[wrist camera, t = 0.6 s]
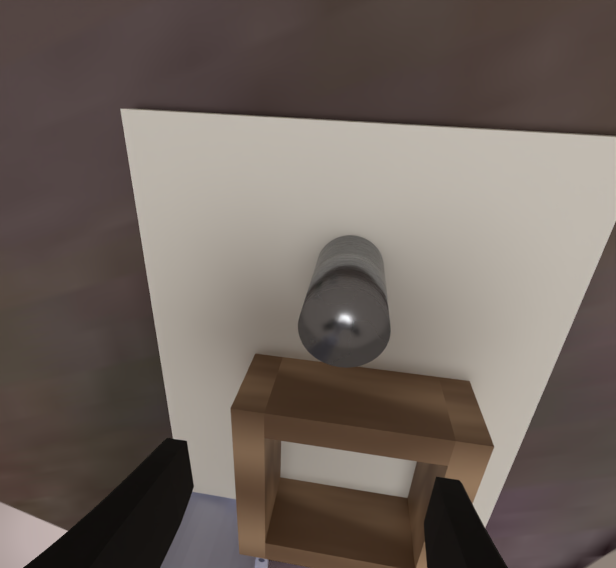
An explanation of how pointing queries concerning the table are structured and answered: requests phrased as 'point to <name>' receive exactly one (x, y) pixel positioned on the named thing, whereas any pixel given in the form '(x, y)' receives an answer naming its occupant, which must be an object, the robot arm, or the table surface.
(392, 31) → the table surface
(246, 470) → the square collar
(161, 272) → the post board
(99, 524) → the robot arm
